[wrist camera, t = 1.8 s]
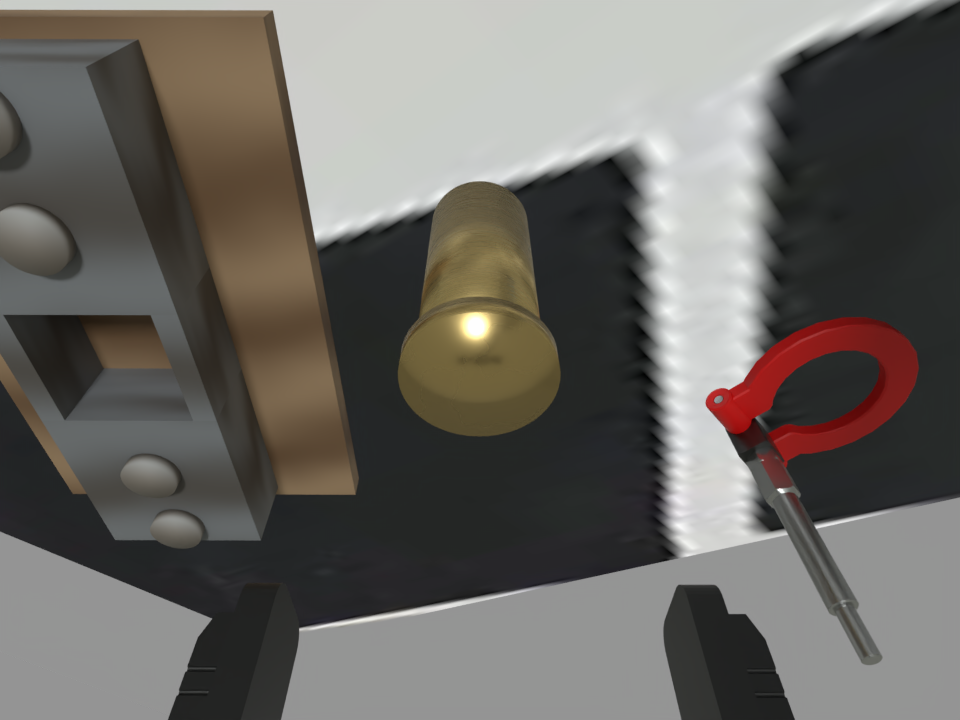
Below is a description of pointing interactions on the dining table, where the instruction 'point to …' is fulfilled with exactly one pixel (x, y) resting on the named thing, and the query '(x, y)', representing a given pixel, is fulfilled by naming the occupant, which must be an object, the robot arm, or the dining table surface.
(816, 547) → the tow hook
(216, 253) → the board
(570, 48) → the dining table surface
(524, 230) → the pin
